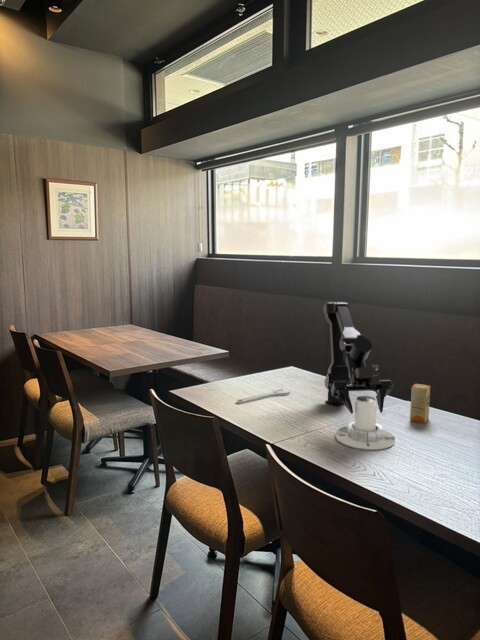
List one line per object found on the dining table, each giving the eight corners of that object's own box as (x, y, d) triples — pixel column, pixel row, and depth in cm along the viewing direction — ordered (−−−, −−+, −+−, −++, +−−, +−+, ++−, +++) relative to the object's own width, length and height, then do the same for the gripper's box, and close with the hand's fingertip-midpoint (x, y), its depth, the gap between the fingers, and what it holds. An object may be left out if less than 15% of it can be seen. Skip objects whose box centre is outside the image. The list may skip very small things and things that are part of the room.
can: (349, 434, 149) (350, 397, 147) (364, 430, 152) (365, 394, 151) (364, 441, 144) (366, 403, 142) (379, 437, 147) (381, 399, 145)
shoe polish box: (409, 420, 163) (411, 386, 161) (413, 416, 167) (415, 383, 165) (424, 423, 160) (426, 389, 158) (428, 419, 164) (430, 385, 162)
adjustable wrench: (239, 406, 181) (239, 401, 181) (231, 401, 187) (231, 397, 186) (292, 395, 193) (292, 390, 193) (283, 391, 199) (283, 387, 198)
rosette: (359, 423, 160) (359, 412, 160) (406, 439, 147) (407, 428, 146) (323, 436, 149) (323, 425, 149) (371, 455, 135) (371, 443, 135)
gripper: (333, 356, 148) (342, 401, 138) (392, 355, 148) (404, 400, 139) (327, 374, 156) (335, 417, 147) (382, 372, 157) (393, 416, 148)
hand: (366, 412), depth 145 cm, fingers open, 9 cm apart
